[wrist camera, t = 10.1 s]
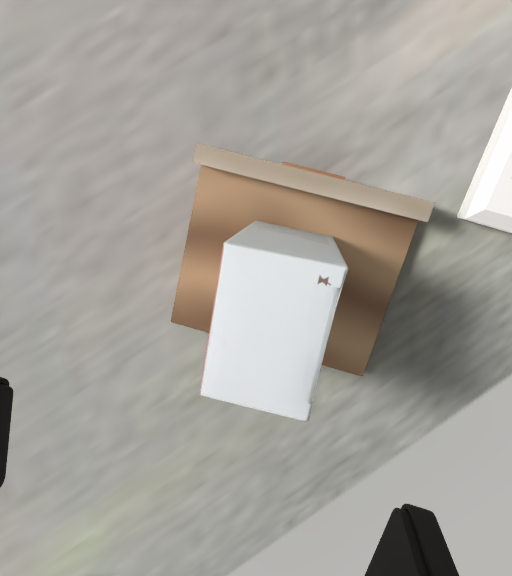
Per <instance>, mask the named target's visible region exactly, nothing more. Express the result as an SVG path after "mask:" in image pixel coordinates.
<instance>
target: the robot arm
mask: <svg viewBox="0 0 512 576" xmlns="http://www.w3.org/2000/svg"><path fill="white" fill-rule="evenodd" d="M12 401H13V389H12V388H11V387H9V382H8V380H7V379H5V378H2V377H0V487H1V486H2V484H3V482H4V479H5V474H6V463H7V453H8V442H9V432H10V421H11V411H12ZM365 576H459V574H458V572H457V570H456V567H455V564H454V562H453V559H452V557H451V554H450V552H449V550H448V547H447V544H446V542H445V539H444V537H443V534H442V532H441V529H440V527H439V525H438V522H437V520H436V517H435V515H434V513H433V512H431V511H429V510H426V509H423V508H420V507H416V506H413V505H410V504H404V505H403V506H402V508H401V509H399V508H395V509H394V510H393V512H392V514H391V516H390V518H389V521H388V523H387V526H386V528H385V530H384V532H383V535H382V537H381V539H380V542H379V544H378V546H377V548H376V551H375V553H374V555H373V558H372V560H371V562H370V564H369V567H368V569H367V572H366V574H365Z"/></svg>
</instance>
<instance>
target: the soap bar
mask: <svg viewBox="0 0 512 576" xmlns="http://www.w3.org/2000/svg"><path fill="white" fill-rule="evenodd" d="M457 218H460V219H464V220H467V221H470V222H474V223H477V224H481V225H484V226H488V227H491V228H494V229H498V230H501V231H505V232H508V233H511V234H512V88H511V91H510V93H509V95H508V98H507V100H506V102H505V105H504V107H503V109H502V112H501V114H500V116H499V119H498V121H497V124H496V126H495V128H494V131H493V133H492V135H491V138H490V140H489V142H488V145H487V147H486V149H485V152H484V154H483V156H482V159H481V161H480V163H479V166H478V168H477V171H476V173H475V175H474V178H473V180H472V182H471V185H470V187H469V189H468V192H467V194H466V196H465V199H464V201H463V203H462V206H461V208H460V210H459V213H458V215H457Z"/></svg>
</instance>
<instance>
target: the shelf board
mask: <svg viewBox="0 0 512 576" xmlns="http://www.w3.org/2000/svg"><path fill="white" fill-rule="evenodd" d="M193 163H196V164H200V165H201V169H200V174H199V179H198V184H197V189H196V195H195V200H194V205H193V210H192V215H191V220H190V225H189V230H188V236H187V241H186V246H185V251H184V256H183V261H182V266H181V271H180V277H179V282H178V287H177V292H176V297H175V302H174V307H173V312H172V318H171V322H173V323H177V324H180V325H184V326H187V327H191V328H194V329H198V330H201V331H205V332H208V333H209V330H210V324H211V318H212V312H213V305H214V299H215V293H216V287H217V280H218V274H219V268H220V261H221V255H222V249H223V243H224V242H226V241H227V240H228V239H230V238H231V237H233V236H234V235H235V234H237V233H238V232H240V231H241V230H243V229H244V228H246V227H247V226H249V225H250V224H252V223H253V222H254V221H260V222H265V223H270V224H275V225H279V226H284V227H289V228H294V229H299V230H304V231H309V232H313V233H318V234H323V235H329V236H332V237H333V239H334V241H335V243H336V244H337V247H338V249H339V251H340V253H341V255H342V257H343V259H344V261H345V263H346V265H347V267H348V271H347V274H346V277H345V280H344V284H343V287H342V290H341V293H340V297H339V300H338V303H337V307H336V310H335V314H334V318H333V322H332V326H331V330H330V334H329V337H328V341H327V345H326V349H325V353H324V357H323V361H322V365H324V366H328V367H331V368H335V369H338V370H342V371H345V372H349V373H353V374H356V375H360V376H363V374H364V371H365V368H366V366H367V363H368V360H369V357H370V354H371V352H372V349H373V346H374V343H375V340H376V338H377V335H378V332H379V329H380V326H381V324H382V321H383V318H384V315H385V312H386V310H387V307H388V304H389V301H390V298H391V296H392V293H393V290H394V287H395V285H396V282H397V279H398V276H399V273H400V271H401V268H402V265H403V262H404V259H405V257H406V254H407V251H408V248H409V245H410V243H411V240H412V237H413V234H414V231H415V229H416V226H417V223H418V220H421V221H424V222H428V220H429V217H430V215H431V212H432V209H433V206H434V204H435V203H434V202H430V201H426V200H422V199H418V198H414V197H410V196H406V195H402V194H398V193H394V192H390V191H386V190H382V189H378V188H374V187H370V186H366V185H362V184H358V183H354V182H350V181H346V180H345V177H342V176H338V175H334V174H330V173H326V172H322V171H318V170H314V169H310V168H306V167H302V166H298V165H294V164H290V163H286V162H283V164H278V163H274V162H270V161H266V160H262V159H258V158H254V157H250V156H246V155H242V154H238V153H234V152H230V151H226V150H222V149H218V148H214V147H211V146H207V145H203V144H199V143H196V148H195V154H194V159H193Z"/></svg>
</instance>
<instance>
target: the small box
mask: <svg viewBox="0 0 512 576" xmlns="http://www.w3.org/2000/svg"><path fill="white" fill-rule="evenodd" d="M347 271H348V267H347V265H346V263H345V261H344V259H343V257H342V255H341V253H340V251H339V249H338V247H337V244H336V243H335V241H334V239H333V237H332V236H329V235H323V234H318V233H313V232H309V231H304V230H299V229H294V228H289V227H284V226H279V225H275V224H270V223H265V222H260V221H254V222H253V223H252V224H250V225H249V226H247V227H246V228H244V229H243V230H241V231H240V232H238V233H237V234H235V235H234V236H233V237H231V238H230V239H228V240H227V241H226V242H224V243H223V249H222V255H221V261H220V268H219V274H218V280H217V287H216V293H215V299H214V305H213V312H212V318H211V324H210V330H209V337H208V343H207V350H206V356H205V362H204V368H203V375H202V382H201V388H200V393H199V394H200V395H202V396H206V397H210V398H213V399H217V400H221V401H225V402H229V403H233V404H237V405H241V406H245V407H249V408H253V409H257V410H261V411H265V412H269V413H273V414H277V415H281V416H285V417H289V418H293V419H297V420H301V421H304V422H307V421H309V418H310V414H311V408H312V403H313V398H314V393H315V389H316V385H317V381H318V377H319V373H320V369H321V365H322V361H323V357H324V353H325V349H326V345H327V341H328V337H329V334H330V330H331V326H332V322H333V318H334V314H335V310H336V307H337V303H338V300H339V297H340V293H341V290H342V287H343V284H344V280H345V277H346V274H347Z"/></svg>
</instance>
